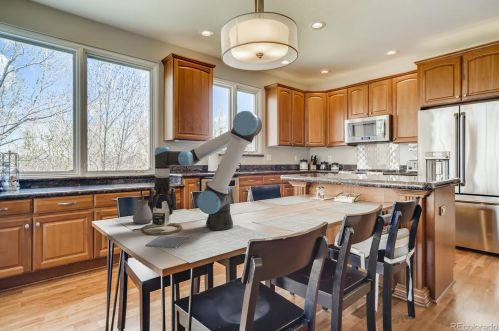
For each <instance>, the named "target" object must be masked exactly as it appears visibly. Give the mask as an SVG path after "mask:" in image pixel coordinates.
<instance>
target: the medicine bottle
mask: <svg viewBox="0 0 499 331" xmlns="http://www.w3.org/2000/svg"><path fill="white" fill-rule="evenodd" d="M168 208H169V206H168V204H167V201H166V200H160V201H157V203H156V211H153V212H152V211H151V212H152V221H151V222H152V223H151V224H152V225H155V226H154V227H160V226H161V227H166V226H168V224H170V223H172V219H171V220H170V221H167V216H168Z"/></svg>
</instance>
